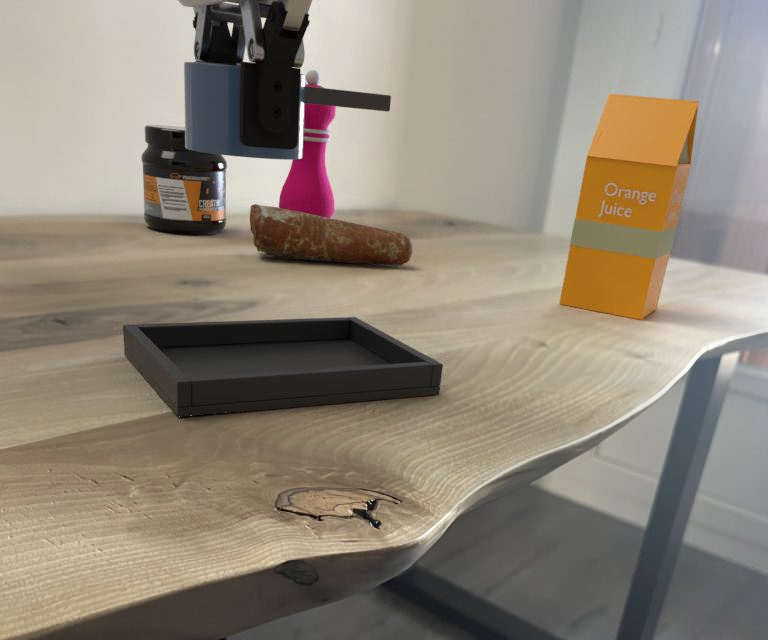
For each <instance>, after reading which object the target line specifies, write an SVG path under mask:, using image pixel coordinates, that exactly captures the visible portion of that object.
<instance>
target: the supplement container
mask: <svg viewBox="0 0 768 640" xmlns="http://www.w3.org/2000/svg"><path fill="white" fill-rule="evenodd" d="M144 142H145V143H146V144H147V147H146V148H145V149H144V151H143V152H142V153H141V163H142V180H143V183H142V184H143V210H144V212H143V220H144V222H145V224H146V225H147V226H148V227H149V228H151V229H153V230H155V231H160V232H162V233H163V232H165V233H170V234H177V235H178V234H179V235H196V236H199V235H204V236H205V235H215V234H219V233H221V232H222V231H223V230H224V229H225V228H226V225H227V217H226V213H227V211H226V209H227V206H226V205H227V204H226V203H227V168H228V162H227V160H226V159H225V157H224V155H220V154H212V153H204V152H198V151H193V150H189V149H186V147H185V126H175V125H164V124H163V125H161V124H160V125H159V124H147V125H145V126H144Z"/></svg>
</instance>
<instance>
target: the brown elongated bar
mask: <svg viewBox="0 0 768 640" xmlns="http://www.w3.org/2000/svg"><path fill="white" fill-rule="evenodd" d="M249 209H250V210H249V211H250V212H249V224H250V231H251V233H252V235H253V245H254V247H255V248H256V251H257V252H261V253H264V254H265V255H266V256H272V257H275V258H280V259H290V260H291V259H293V260H305V261H316V262H318V261H319V262H332V263H333V262H335V263H345V264H359V265H384V266H385V265H387V266H401V265H405V264H407V263H409V262H410V260H411V258H412V256H413V252H414V251H413V250H414V249H413V248H414V247H413V243H412V239H411V238H410V237H409V236H408V235H407V234H406V233H402V232H398V231H393V230H389V229H385V228H379V227H375V226H369V225H365V224H360V223H354V222H350V221H346V220H342V219H337V218H332V217H331V218H327V217H322V216H318V215H312V214H307V213H302V212H298V211H292V210H287V209H282V208H279V206H278V207H277V206H269V205H268V206H267V205H261V204H258V203H257V204H256V203H254V204H252V205H250V208H249Z"/></svg>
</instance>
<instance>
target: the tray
mask: <svg viewBox="0 0 768 640" xmlns="http://www.w3.org/2000/svg"><path fill="white" fill-rule="evenodd" d="M122 329H123V330H122V335H123V346H124V347H123V353H124V354H123V355H124V356H125V357H126V358H127V359H128V361H129V362H130V363H131V364H132V365H133V367H134V368H135V369H136V370H137V371H138V372H139V373H140V375H141V376H142V377H143V378H144V379H145V380H146V382H147V383H148V384H149V385H150V386H151V388H153V390H154V391H155V393H157V395H159V396H158V397H160V398H161V399H162V401H163V402H164V401H165V402H166V403H165V402H164V403H165V404H166V405H167V407H169V409H170V408H171V409H172V410H171V409H170V410H171V411H172V412H173V414H174V415H175V416H176V415H177V416H178V417H177V416H176V417H177V418H179V416H180V418H184V417H183V416H190V415H192V416H191V417H196V416H195V415H202V414H213V415H215V414H214V413H225V412H226V413H225V414H231V413H230V412H236V413H245V412H244V411H247V412H256V411H258V412H259V411H268V410H280V408H281V409H290V408H302V407H313V406H314V407H315V406H324V405H325V406H327V405H334V404H336V405H337V404H349V403H360V402H370V401H383V400H393V399H403V398H413V397H414V398H415V397H428V396H436V395H440V391H441V383H442V377H443V368H444V363H441V362H439V361H437V360H436V359H434V358H432V357H430V356H428V355H427V354H425V353H423V352H421V351H420V350H417V349H415V348H413V347H412V346H410V345H408V344H406V343H404V342H402V341H400V340H399V339H397V338H395V337H393V336H391V335H390V334H388V333H386V332H384V331H382V330H380V329H379V328H376V327H374V326H373V325H371V324H369V323H367V322H365V321H364V320H362V319H360V318H358V317H357V316H348V317H316V318H283V319H281V318H280V319H256V320H255V319H253V320H230V321H229V320H225V321H224V320H223V321H222V320H221V321H195V322H193V321H191V322H167V323H166V322H165V323H164V322H163V323H136V324H135V323H129V324H127V323H126V324H123V325H122ZM240 411H241V412H240ZM193 415H194V416H193ZM181 416H182V417H181ZM202 416H203V415H202Z"/></svg>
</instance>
